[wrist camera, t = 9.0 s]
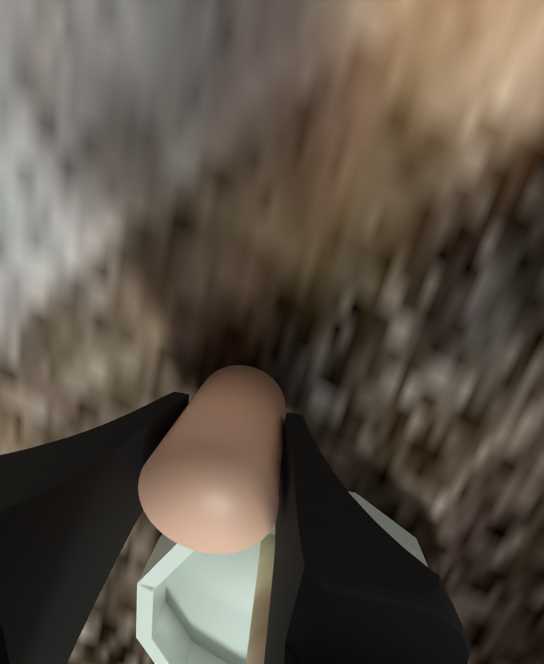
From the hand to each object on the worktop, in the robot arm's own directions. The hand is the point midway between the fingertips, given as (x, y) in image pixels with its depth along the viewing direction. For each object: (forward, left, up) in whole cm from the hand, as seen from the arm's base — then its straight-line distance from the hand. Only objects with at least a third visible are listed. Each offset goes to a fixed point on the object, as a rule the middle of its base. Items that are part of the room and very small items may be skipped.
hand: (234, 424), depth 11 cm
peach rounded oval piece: (0, 0, -1) cm, 1 cm away
